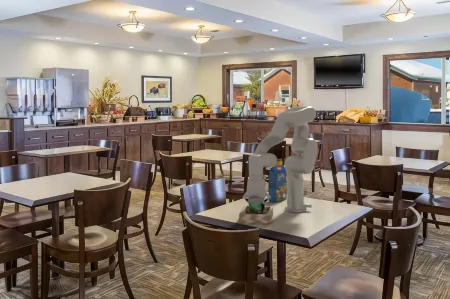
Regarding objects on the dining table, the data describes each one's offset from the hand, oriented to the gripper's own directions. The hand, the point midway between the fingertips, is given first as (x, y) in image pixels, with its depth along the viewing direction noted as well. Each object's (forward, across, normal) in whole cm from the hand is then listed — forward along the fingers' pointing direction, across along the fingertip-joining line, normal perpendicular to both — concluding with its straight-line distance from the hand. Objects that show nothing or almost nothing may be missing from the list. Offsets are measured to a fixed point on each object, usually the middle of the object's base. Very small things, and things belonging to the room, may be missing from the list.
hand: (256, 210), depth 234 cm
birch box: (+5, 0, 0) cm, 5 cm away
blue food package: (+5, -8, -47) cm, 48 cm away
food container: (+3, -1, 0) cm, 3 cm away
